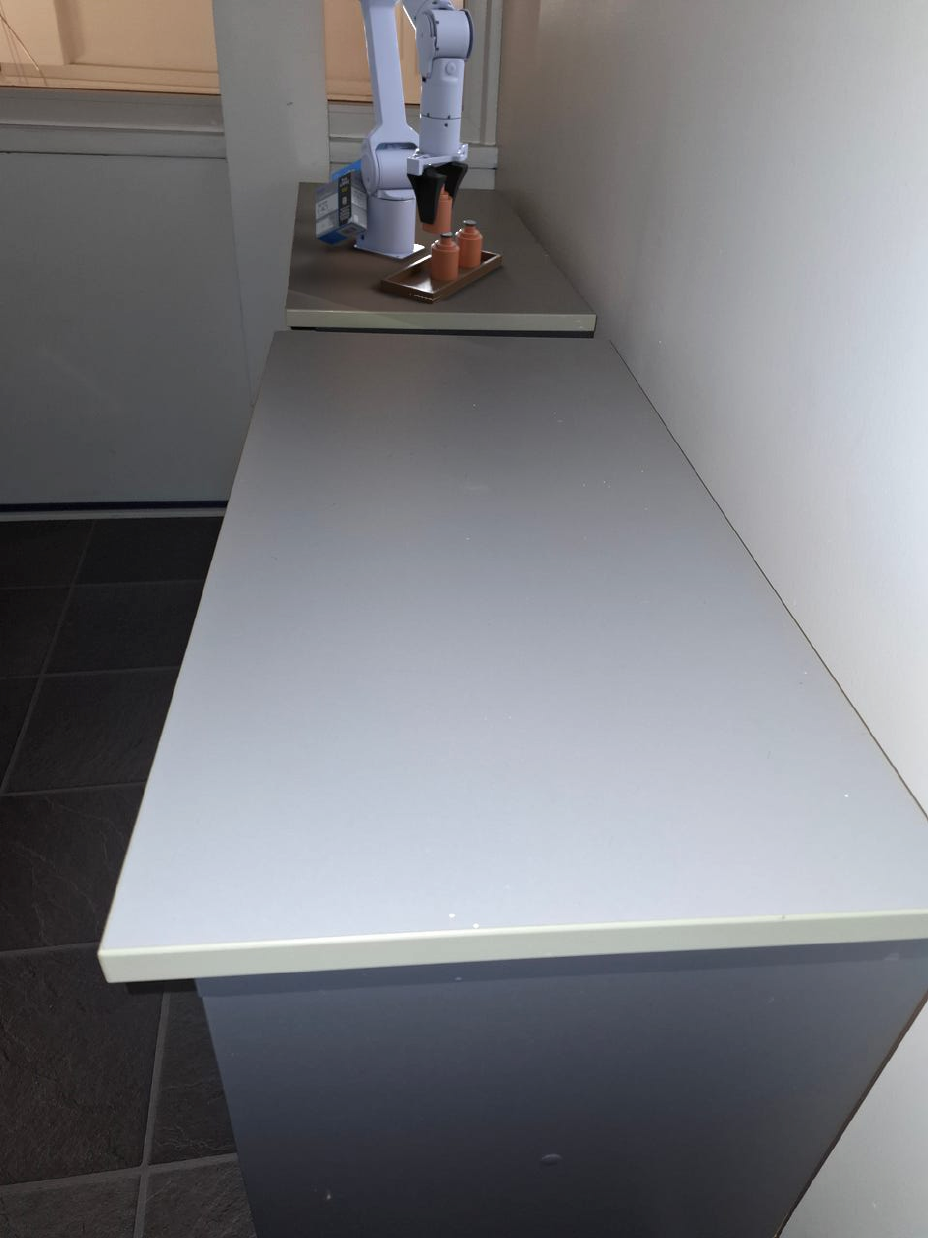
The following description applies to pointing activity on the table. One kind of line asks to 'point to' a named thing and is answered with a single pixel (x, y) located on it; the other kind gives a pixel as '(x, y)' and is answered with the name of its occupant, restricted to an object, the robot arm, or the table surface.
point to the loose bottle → (441, 215)
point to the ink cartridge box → (341, 206)
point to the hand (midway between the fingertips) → (435, 219)
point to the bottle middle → (444, 258)
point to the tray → (420, 282)
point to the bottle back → (469, 245)
